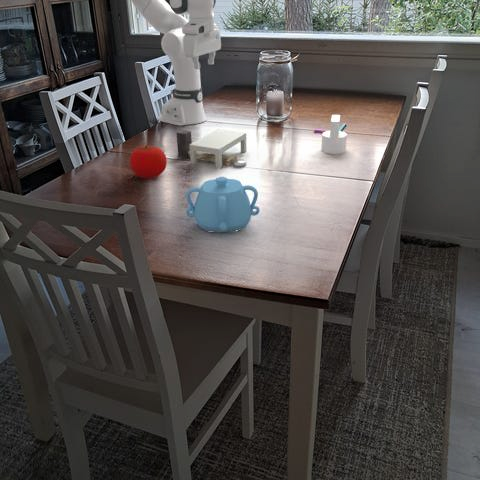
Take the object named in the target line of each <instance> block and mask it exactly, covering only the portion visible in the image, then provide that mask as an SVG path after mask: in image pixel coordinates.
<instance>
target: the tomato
mask: <svg viewBox="0 0 480 480" xmlns="http://www.w3.org/2000/svg"><path fill="white" fill-rule="evenodd" d="M167 161H168V159H167V155H166V154H165V152H164V151H163V150H162V148H160V147H158V146H157V147H156V146H152V145H149V144H147V145H142V146H139V147H136V148H135V149H134V150H133V151H132V153H131V155H130V157H129V167H130V170H131V171H132V172H133V174H135V175H136V176H137V177H140V178H141V179H155V178H157V177H158V176H160V175H162V174H163V173H164V171H165V169H166V168H167V164H168V162H167Z"/></svg>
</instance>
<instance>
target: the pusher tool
mask: <svg viewBox="0 0 480 480" xmlns="http://www.w3.org/2000/svg"><path fill="white" fill-rule="evenodd" d="M175 134H176V143H177V146H176V147H177V156H178V157H181V158H185V159H188V158H189V159H190V145H189V144H191V143H193V141H192V139H193V138H192V131H190V130H184V129H181V130H179V131H177V132H176V133H175ZM196 155H197V160H202V161H209V162H214V163H216V159H215V154H211V153H205V152H199V151H196ZM234 159H238V157H237V155H233V156H227V155H222V164H225V166H226V167H230V166H232V160H234Z"/></svg>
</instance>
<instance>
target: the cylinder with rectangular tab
mask: <svg viewBox="0 0 480 480" xmlns="http://www.w3.org/2000/svg"><path fill="white" fill-rule="evenodd" d="M340 120H341V115H340V114H332V115H331V119H330V129H329V130H325V131H326V132H323V133H321V151H322V152H323V153H326V154H330V155H338V154H339V155H340V154H343V153H345V152H346V150H347V138H348V134H347V133H346V132H345V131H342V130H341V131H339V129H340V122H341V121H340Z"/></svg>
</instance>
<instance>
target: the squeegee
mask: <svg viewBox="0 0 480 480" xmlns="http://www.w3.org/2000/svg"><path fill="white" fill-rule="evenodd" d="M346 126H347V123H343V124H342V125H341V126H339V131H342V130H343V128H345V127H346ZM326 131H327V130H319V129H314V134H322V133H323V132H326Z"/></svg>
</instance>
